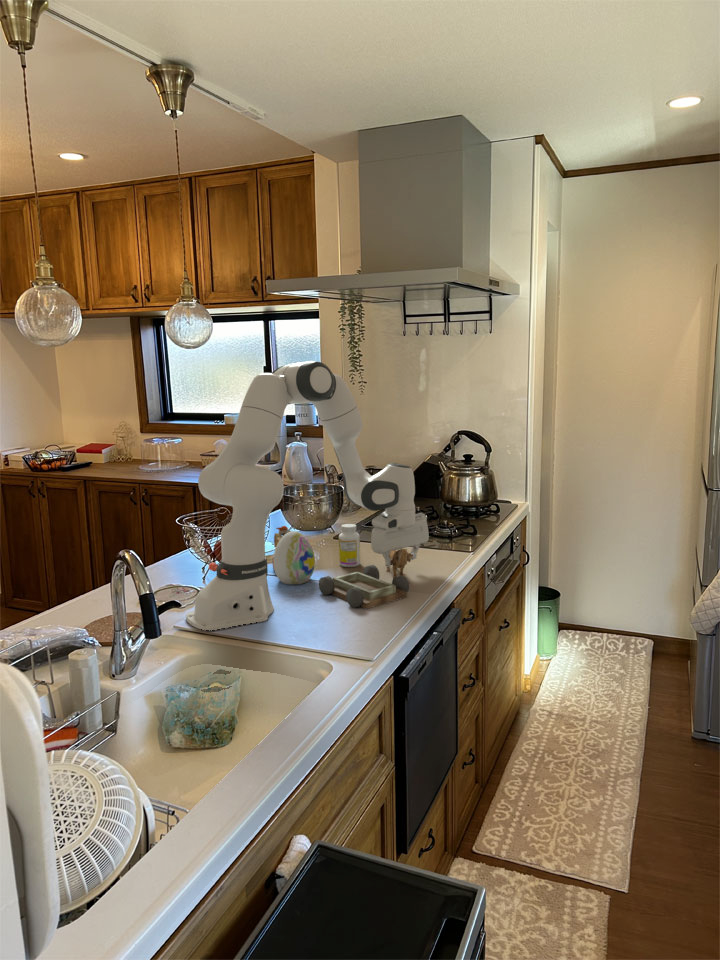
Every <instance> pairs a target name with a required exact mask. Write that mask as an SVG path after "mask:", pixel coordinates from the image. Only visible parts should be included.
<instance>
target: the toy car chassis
mask: <svg viewBox="0 0 720 960" xmlns="http://www.w3.org/2000/svg"><path fill="white" fill-rule="evenodd" d="M404 575H405V574H404ZM404 575H400V574H399V575H397V576H396V577H394V578H393V577H392V582H391V583H389V582H386V581H384V580H381V579H380V571H379V569H378V567H377V566H376V565H374V564H371V565H367V566H365V567H364V568H363V573H362V572H359V571H354V572H350V573H346V574H342V575H339V576H335V577H332V576H329V575H326V576H321V577H320V578H319V579H318V589H319V591H320V593H321V594H322V595H323V596H329V595H332V594H333V596H335V597H337V596H338V598H339V597H340V598H339V599H341V600H344V601H346V600H347V603H348V605H349V607H351V608H353V607H354V608H358V607H360V606H361V608H362V609H365V608H366V609H365V610H368V609H371V608H374V607H373V606H375V607H378V606H381V605H380V604H382V605H385V604H388V603H387V602H389V603H391V602H390V601H392V602H394V601H393V600H395V601H398V600H397V599H399V600H401V599H400V598H402V599H404V598H403V597H406V598H407V593H408V592H409V590H410V583H409V582H410V581H409V579H408V578H407V577H406V576H404ZM384 603H385V604H384ZM377 605H378V606H377ZM370 607H371V608H370ZM367 608H368V609H367Z"/></svg>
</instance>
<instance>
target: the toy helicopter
mask: <svg viewBox="0 0 720 960" xmlns="http://www.w3.org/2000/svg"><path fill="white" fill-rule="evenodd" d="M275 529H276V530H278V532H276V533H274V535H273V545H274V547H275V549H276V546H277V544H278V542H279V541H280V539H281V538H282V537H283V536H284V535H285V534H286V533H288V532H291V530H290V529H289V528H288V527H287V526H286V525H282V526H281V527H276V528H275ZM273 558H274V555H273V557H272V559H273ZM272 569H273V571H274V572H275V570H274V565H273V564H272Z"/></svg>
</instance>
